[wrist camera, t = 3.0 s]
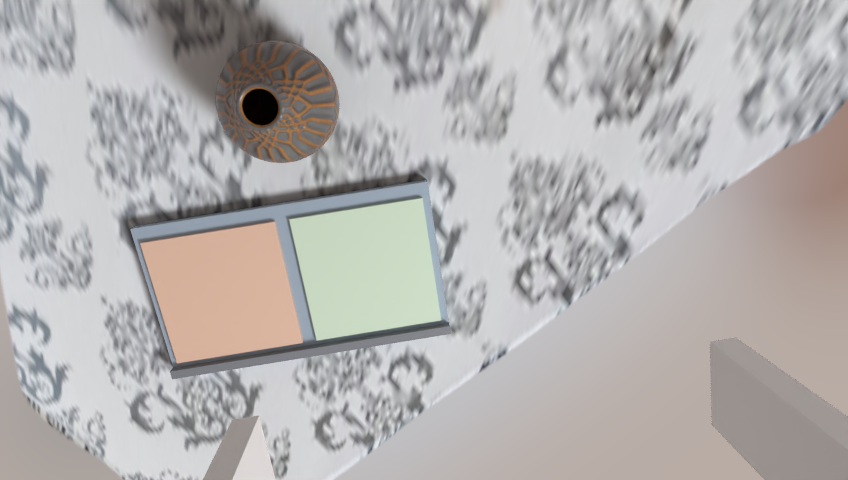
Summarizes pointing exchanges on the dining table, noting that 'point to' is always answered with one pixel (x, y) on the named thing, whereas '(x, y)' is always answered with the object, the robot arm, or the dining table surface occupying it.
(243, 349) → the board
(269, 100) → the vase
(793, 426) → the robot arm
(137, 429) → the dining table surface
